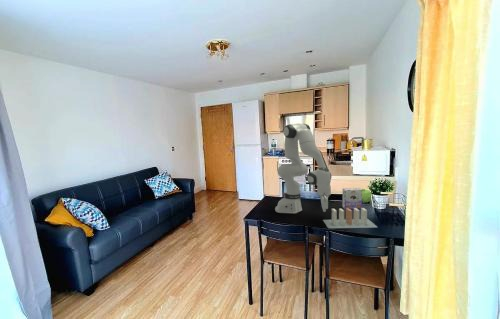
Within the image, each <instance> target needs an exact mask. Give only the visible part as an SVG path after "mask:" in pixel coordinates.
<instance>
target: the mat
mask: <svg viewBox="0 0 500 319" xmlns="http://www.w3.org/2000/svg"><path fill="white" fill-rule="evenodd" d="M322 221H323V223H324V224H325V225H326V227H327V228H328V229H354V228H355V229H358V228H359V229H360V228H361V229H363V228H364V229H366V228H378V226H377V225H376V224H375V223H374V222H372V221H371V220H370V219H369V218H367V225H364V224H363V223H362V222H361V218H359V225H356V224H355V223H354V218H352V225H349V224H348V223H346V218H344V225H341V224H340V223H339V219H337V225H333V223H332V219H323V220H322Z"/></svg>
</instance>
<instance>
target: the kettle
mask: <svg viewBox="0 0 500 319" xmlns="http://www.w3.org/2000/svg"><path fill="white" fill-rule="evenodd" d="M361 189H362V204H366V203H368V202H369V203H370V202H372V200H371V192H370V191H371V190H367V189H365V188H361Z"/></svg>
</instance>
